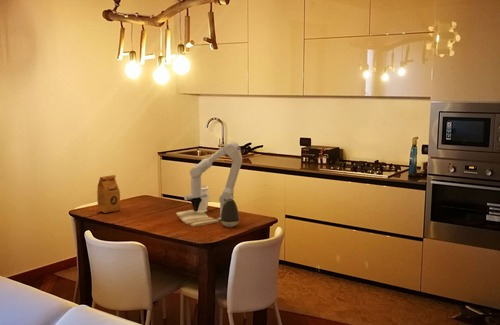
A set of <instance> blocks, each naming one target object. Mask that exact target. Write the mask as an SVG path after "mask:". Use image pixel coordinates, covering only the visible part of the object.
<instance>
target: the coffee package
mask: <svg viewBox="0 0 500 325" xmlns="http://www.w3.org/2000/svg"><path fill="white" fill-rule="evenodd" d="M116 178H117V177H116V174H112V175H107V176H100V177H99V180H98V183H97V191H96V192H97V193H96V194H97V196H96V198H97V199H96V200H97V212H98V213H104V214H106V213H113V212H114V213H115V212H119V211H121V207H122V206H121V192H120V187H119V185H118V184H117V180H116Z"/></svg>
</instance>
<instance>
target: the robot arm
mask: <svg viewBox="0 0 500 325" xmlns="http://www.w3.org/2000/svg"><path fill="white" fill-rule="evenodd" d="M226 155H227V156H229V157H230V159H231V161H232V164H231V167H230V169H229V170H230V171H229V173H228V177H227V180H226V184H225V187H224V189H223V191H222V193H221V195H220V196H219V197H218V200H219V214H220V215H219V217H217V218H216V219H217V220H219V221H221V211H222V208H223V205H224V203H225V201H224V199H226V200H227V199H233V200H234V192H235V185H236V183H237V179H238V175H239V174H240V173H239V172H240V169H241V166H242V164H243V156H242V152H241V147H240V146H239V144H238V143H237V142H234V141H233V142H230V143H227V144H226V145H224V146H222V147H221V148H219V149H218V150H217V151H215V152H214V153H213V154H212V155H210V157H209V158H202V159H201V161H200V162H199V163H198V164H197V163H196V164H195V166H194V167H192V168H191V169H189V175H190V177H191V178H190V194H189V195H185V196H184V197H183V198H184V200H185V201H188V200H189V201H190V202H191V205H192V208H193V209H192V210H194V211H198V208H199V205H200V203H201V201H202V199H201V198H203V197H207V194H201V186H202V175H203V173H205V172H206V171H207V170H209V169H210V168H211V167H212V166H213V163H214V162H215V161H217V160H218V159H219V158H221V157H223V156H226Z"/></svg>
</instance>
